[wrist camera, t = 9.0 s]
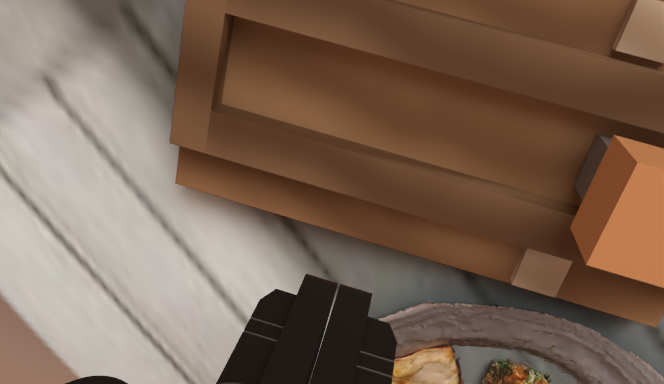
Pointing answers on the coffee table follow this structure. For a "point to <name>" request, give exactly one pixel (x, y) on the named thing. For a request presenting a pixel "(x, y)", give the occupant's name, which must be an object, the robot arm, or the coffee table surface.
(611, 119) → the console
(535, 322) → the food plate
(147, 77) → the coffee table surface
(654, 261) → the fader
